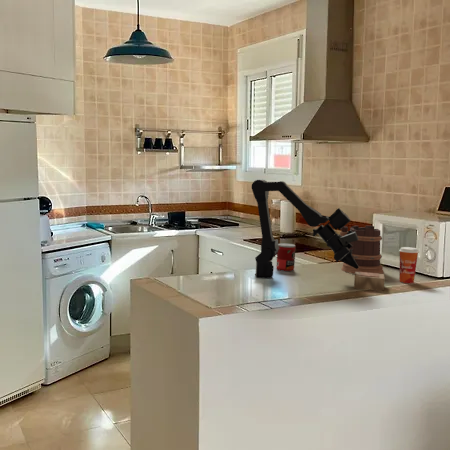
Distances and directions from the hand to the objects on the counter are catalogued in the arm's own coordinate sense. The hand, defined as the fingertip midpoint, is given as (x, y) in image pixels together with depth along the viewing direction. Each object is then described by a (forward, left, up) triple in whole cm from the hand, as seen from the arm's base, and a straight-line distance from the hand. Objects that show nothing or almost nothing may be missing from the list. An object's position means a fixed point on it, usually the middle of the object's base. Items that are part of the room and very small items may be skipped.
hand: (357, 268), depth 227 cm
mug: (+11, +35, -7) cm, 37 cm away
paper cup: (+24, +11, -7) cm, 27 cm away
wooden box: (-1, 0, -5) cm, 5 cm away
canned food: (-23, +31, -7) cm, 39 cm away
